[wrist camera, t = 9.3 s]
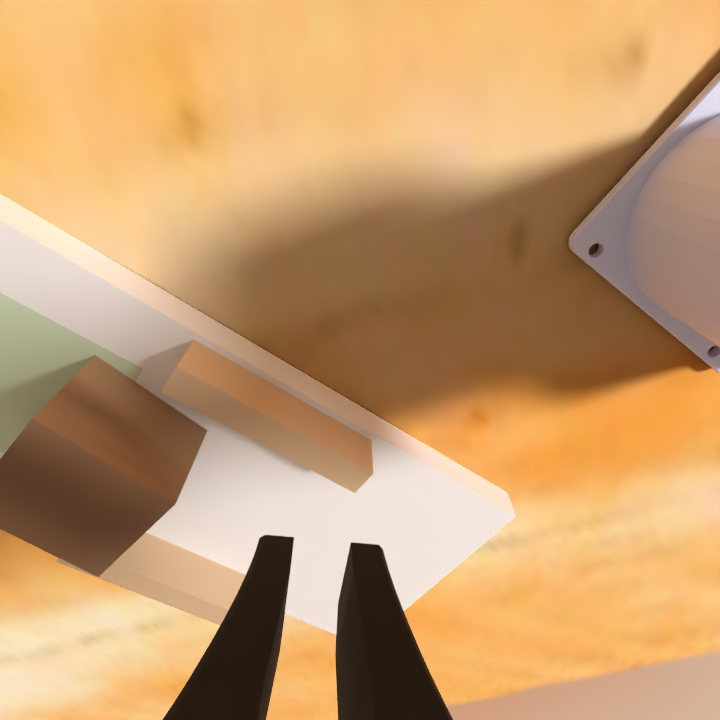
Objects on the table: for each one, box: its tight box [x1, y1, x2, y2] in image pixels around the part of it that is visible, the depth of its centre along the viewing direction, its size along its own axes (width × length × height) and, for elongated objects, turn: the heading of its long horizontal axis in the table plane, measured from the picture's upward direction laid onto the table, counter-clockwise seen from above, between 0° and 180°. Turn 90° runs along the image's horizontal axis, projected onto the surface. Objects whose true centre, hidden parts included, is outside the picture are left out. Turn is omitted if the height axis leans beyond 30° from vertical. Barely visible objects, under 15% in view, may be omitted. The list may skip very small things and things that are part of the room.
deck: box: [0, 194, 516, 635], centre depth 20 cm, size 32×12×4 cm, turn 55°
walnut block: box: [0, 355, 207, 577], centre depth 18 cm, size 5×5×4 cm
